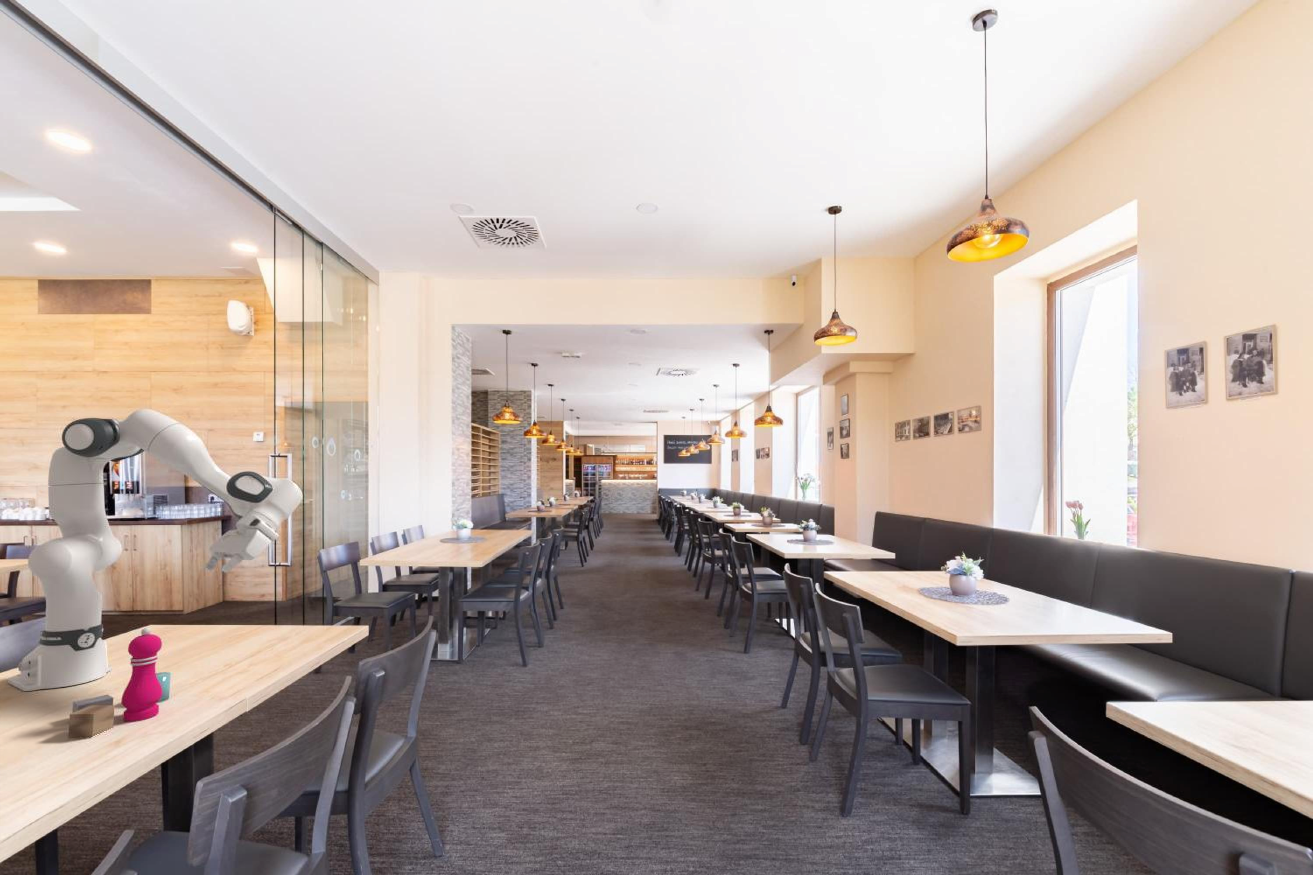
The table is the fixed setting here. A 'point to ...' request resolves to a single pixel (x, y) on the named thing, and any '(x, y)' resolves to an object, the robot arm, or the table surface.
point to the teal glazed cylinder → (164, 685)
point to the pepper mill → (142, 678)
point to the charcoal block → (92, 702)
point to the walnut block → (91, 721)
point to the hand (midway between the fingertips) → (215, 569)
